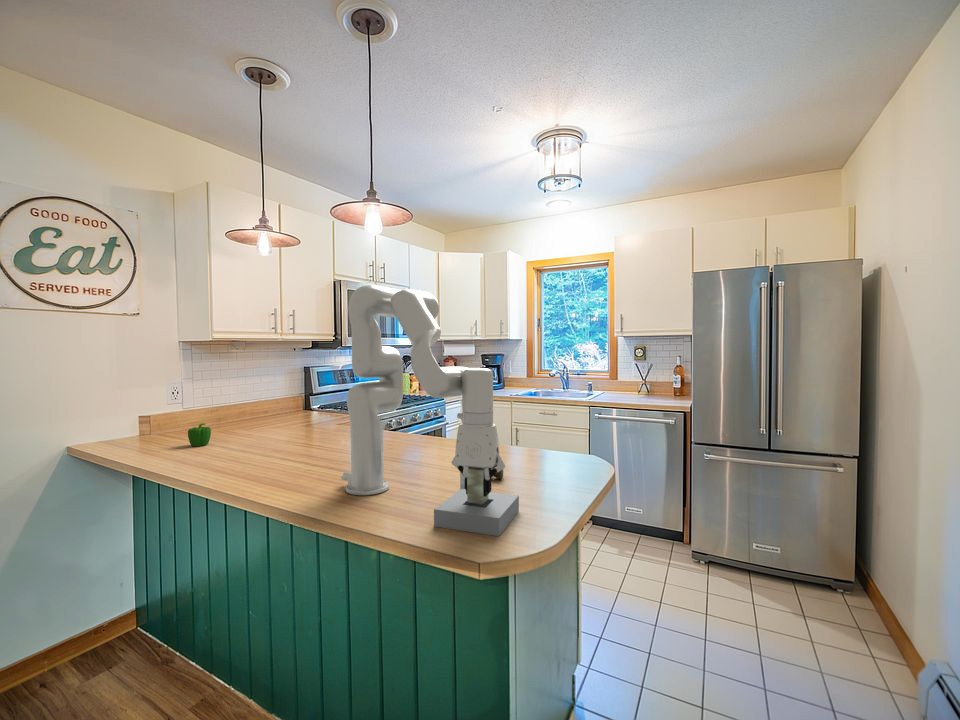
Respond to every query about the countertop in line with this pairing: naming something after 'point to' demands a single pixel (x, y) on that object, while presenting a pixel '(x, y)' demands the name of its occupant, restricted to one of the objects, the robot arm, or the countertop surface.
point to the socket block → (477, 513)
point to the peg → (475, 485)
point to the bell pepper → (199, 435)
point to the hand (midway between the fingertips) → (478, 492)
